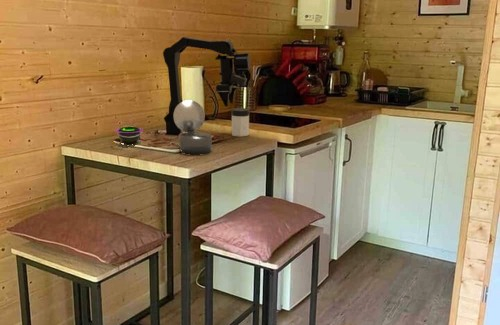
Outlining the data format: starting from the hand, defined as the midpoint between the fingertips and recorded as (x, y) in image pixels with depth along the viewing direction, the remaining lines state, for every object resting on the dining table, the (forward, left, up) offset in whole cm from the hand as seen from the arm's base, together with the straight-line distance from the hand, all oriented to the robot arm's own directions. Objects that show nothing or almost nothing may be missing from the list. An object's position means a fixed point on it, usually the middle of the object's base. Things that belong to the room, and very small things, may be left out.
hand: (229, 104), depth 225 cm
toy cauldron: (-39, -23, -16) cm, 48 cm away
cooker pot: (-10, -27, -15) cm, 32 cm away
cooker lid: (-14, -20, -2) cm, 24 cm away
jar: (+4, +7, -15) cm, 17 cm away
